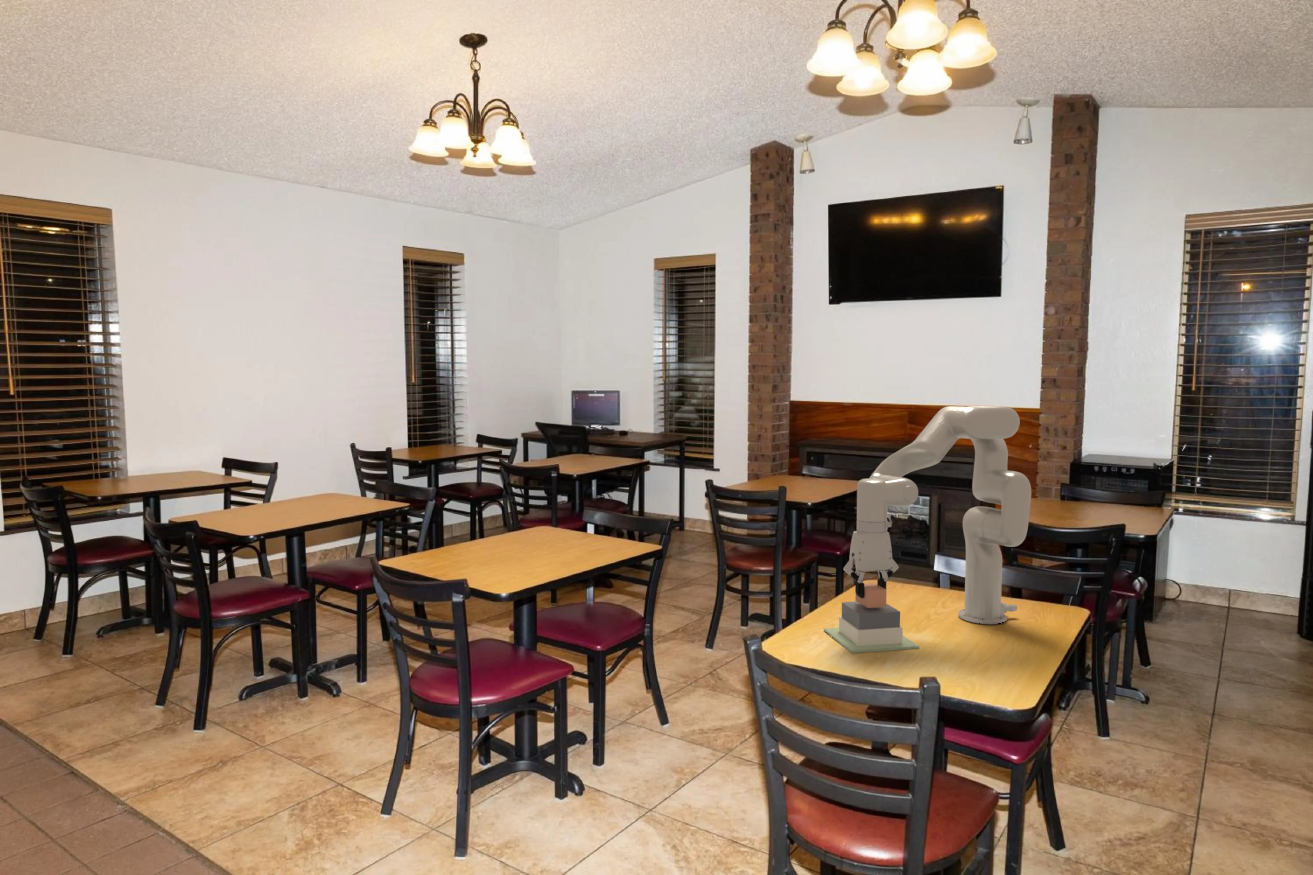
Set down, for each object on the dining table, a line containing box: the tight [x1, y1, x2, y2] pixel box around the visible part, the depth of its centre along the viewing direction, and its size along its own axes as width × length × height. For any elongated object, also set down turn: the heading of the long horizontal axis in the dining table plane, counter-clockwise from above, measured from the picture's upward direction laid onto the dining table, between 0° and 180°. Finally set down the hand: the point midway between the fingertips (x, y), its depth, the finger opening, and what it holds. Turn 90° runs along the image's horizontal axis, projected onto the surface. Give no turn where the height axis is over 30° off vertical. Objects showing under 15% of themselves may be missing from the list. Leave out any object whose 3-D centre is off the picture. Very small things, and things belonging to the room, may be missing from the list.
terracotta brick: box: [854, 582, 887, 608], centre depth 212 cm, size 5×7×4 cm
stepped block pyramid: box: [823, 601, 920, 654], centre depth 212 cm, size 18×18×9 cm
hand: (870, 595), depth 212 cm, fingers closed on terracotta brick, 5 cm apart
